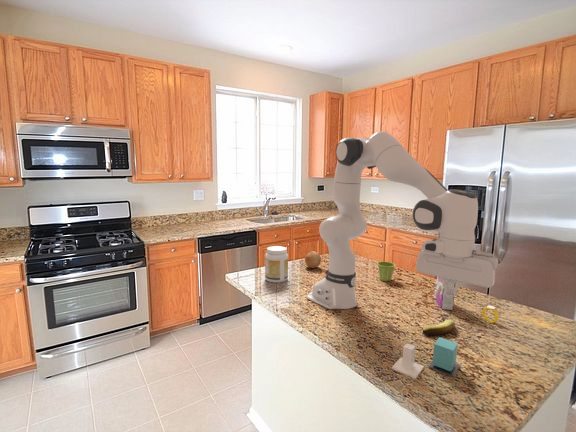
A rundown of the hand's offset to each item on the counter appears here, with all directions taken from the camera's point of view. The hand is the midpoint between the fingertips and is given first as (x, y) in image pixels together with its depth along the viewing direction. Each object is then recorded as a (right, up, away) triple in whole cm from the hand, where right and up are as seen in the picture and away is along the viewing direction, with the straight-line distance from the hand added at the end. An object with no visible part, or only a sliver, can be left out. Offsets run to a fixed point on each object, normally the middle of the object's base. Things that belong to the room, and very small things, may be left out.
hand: (450, 293), depth 93 cm
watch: (+33, -19, +34) cm, 51 cm away
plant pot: (+5, -12, +80) cm, 81 cm away
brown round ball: (-32, -9, +99) cm, 104 cm away
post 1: (-12, -23, +2) cm, 26 cm away
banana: (+9, -21, +27) cm, 35 cm away
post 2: (0, -23, +3) cm, 23 cm away
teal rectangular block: (0, -22, +3) cm, 22 cm away
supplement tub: (-53, -11, +78) cm, 95 cm away
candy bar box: (+21, -17, +49) cm, 56 cm away
